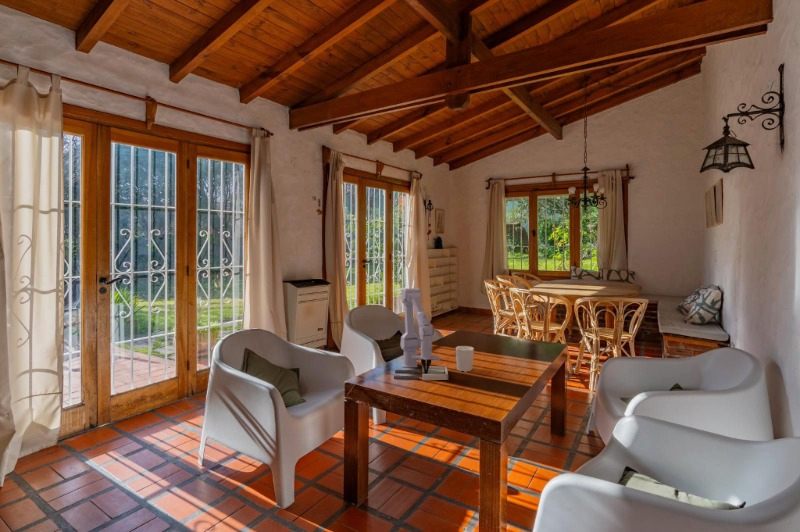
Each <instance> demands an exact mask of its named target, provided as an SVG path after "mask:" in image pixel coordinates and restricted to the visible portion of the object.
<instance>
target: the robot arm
mask: <svg viewBox="0 0 800 532" xmlns="http://www.w3.org/2000/svg"><path fill="white" fill-rule="evenodd" d="M400 295H401V303H402V304H403V307H404V311H403V312H404V327H405V328H404V329H405V332H404V333H403V334H402V335H401V336H400V344H399V345H400V349H402V350H403V361H402V362H403V363H402V368H418V361H420V363H421V366H423V368H424V372H423V373H424V374H428V369H429V366H431V364H432V361H438V362H440V361H441V356H440V355H433V354H432V352H433V345H432V344H433V342H432V341H433V336H434V334H435V329H434V325H433V324H432V323H431V322H430V320H429V317H428V315H427V313H426V312H424V308H423V306H422V305H423V304H422V302H421V299H422V290H421V288H420V287H414V288H410V287H409V288H405V287H404V288H403V289H402V290H401V293H400ZM414 310H415V313H416V315H415V316H414ZM414 317H415V318H416V321H417V325H418V334H419V335H418V334H417V333H415V321H414V319H415V318H414ZM419 348H420V355H419V354H418V355H417V351H418V349H419Z"/></svg>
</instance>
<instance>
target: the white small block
mask: <svg viewBox="0 0 800 532" xmlns="http://www.w3.org/2000/svg"><path fill="white" fill-rule="evenodd" d="M427 374H436V369H428V373H427Z"/></svg>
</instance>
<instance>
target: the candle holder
mask: <svg viewBox="0 0 800 532" xmlns="http://www.w3.org/2000/svg"><path fill="white" fill-rule="evenodd" d="M474 351H475V348H474V347H473V346H469V345H468V346H467V345H458V346H455V358H456V359H455V360H456V370H457V371H458V370H459V371H458V372H461V371H464V372H463V373H468V372H467V371H470V372H472V371H473V365H474V364H473V362H474ZM471 370H472V371H471Z"/></svg>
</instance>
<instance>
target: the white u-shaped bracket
mask: <svg viewBox="0 0 800 532" xmlns="http://www.w3.org/2000/svg"><path fill="white" fill-rule="evenodd" d="M421 367H422V368H421V369H422V372H421V373H422V375H421V376H422V381H430V380H448V381H449V373H448V367H447V366H434V365H433V366H431V365H430V366H429V369H436V370H444V372H445V373H444V374H428V373H427V374H425V372H424V368H423V365H421Z"/></svg>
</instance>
